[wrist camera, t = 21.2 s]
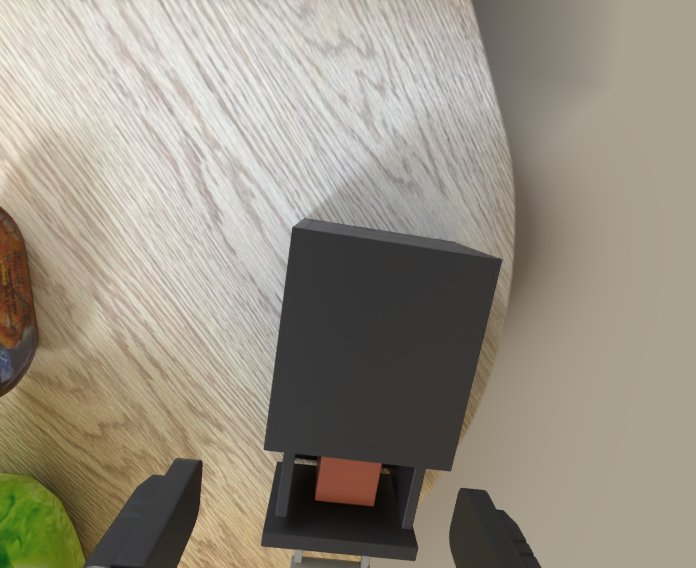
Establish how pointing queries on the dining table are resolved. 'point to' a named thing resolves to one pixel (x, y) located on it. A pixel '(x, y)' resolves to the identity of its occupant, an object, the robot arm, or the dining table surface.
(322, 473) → the block
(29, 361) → the tin
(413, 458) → the black drawer unit
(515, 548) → the robot arm
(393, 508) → the pull-out drawer
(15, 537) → the lettuce
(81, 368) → the dining table surface
